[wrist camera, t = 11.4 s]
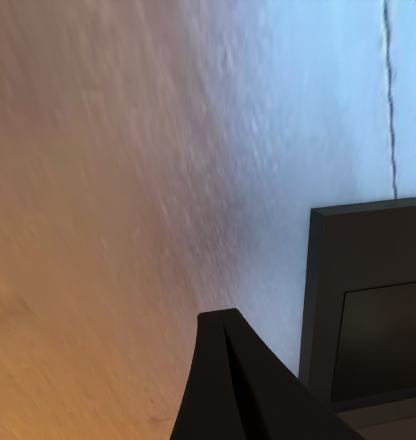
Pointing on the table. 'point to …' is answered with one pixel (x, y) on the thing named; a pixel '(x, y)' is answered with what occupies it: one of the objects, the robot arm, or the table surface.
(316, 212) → the laptop
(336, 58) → the table surface
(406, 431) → the laptop screen
